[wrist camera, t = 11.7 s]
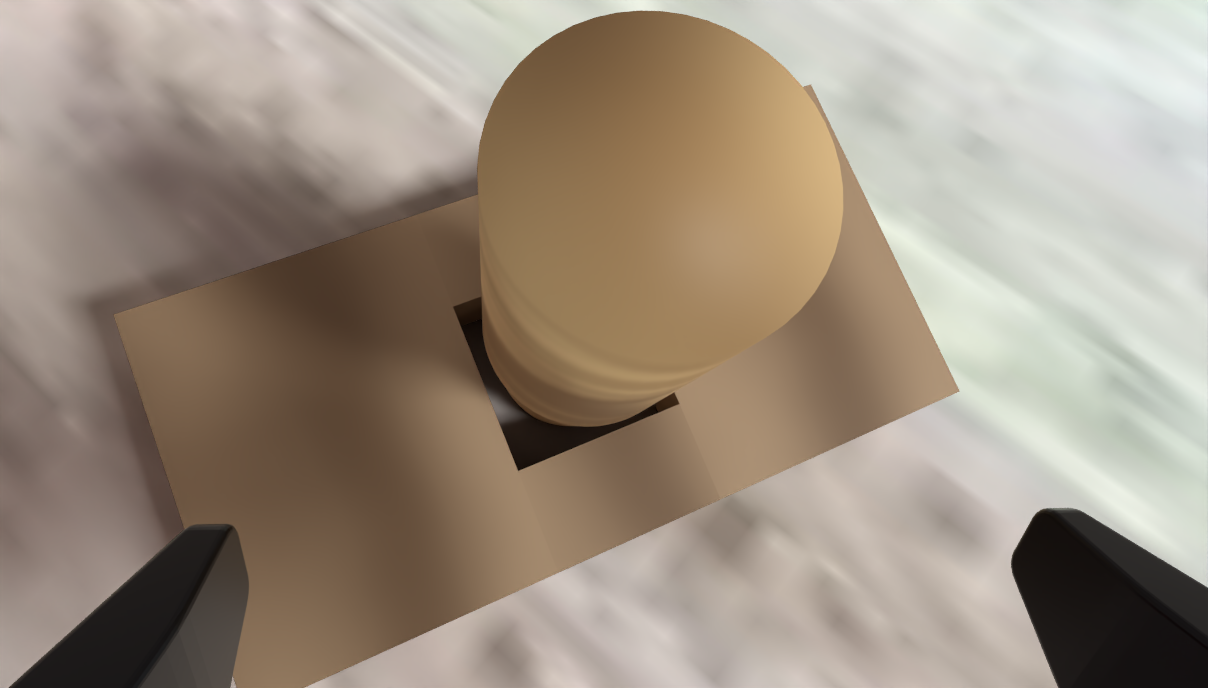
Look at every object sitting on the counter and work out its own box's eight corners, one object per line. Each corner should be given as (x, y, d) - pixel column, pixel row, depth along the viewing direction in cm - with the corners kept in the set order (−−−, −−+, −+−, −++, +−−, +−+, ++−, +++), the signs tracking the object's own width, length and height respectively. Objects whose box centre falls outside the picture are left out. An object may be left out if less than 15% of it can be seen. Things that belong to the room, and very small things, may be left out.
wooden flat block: (275, 688, 20) (245, 713, 17) (156, 336, 21) (113, 314, 19) (911, 402, 24) (959, 391, 22) (780, 124, 25) (810, 84, 23)
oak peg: (517, 472, 22) (564, 422, 8) (461, 332, 22) (421, 68, 9) (655, 414, 23) (902, 283, 9) (598, 281, 23) (751, -28, 10)
